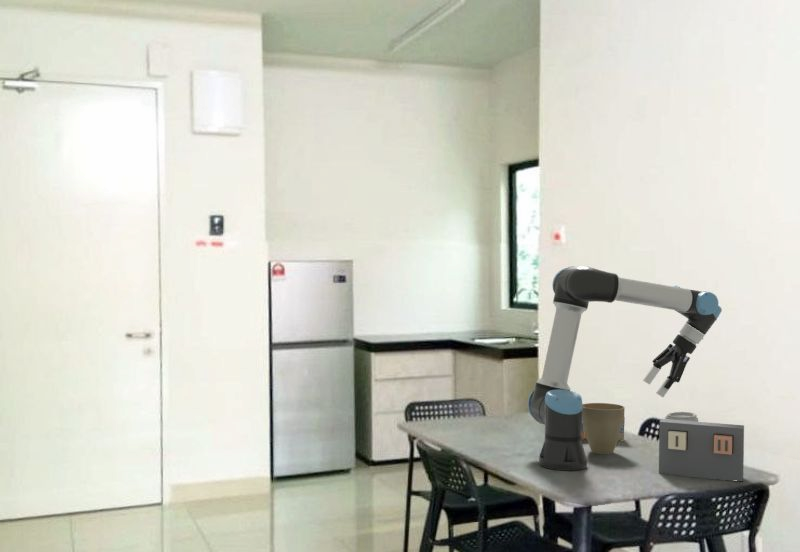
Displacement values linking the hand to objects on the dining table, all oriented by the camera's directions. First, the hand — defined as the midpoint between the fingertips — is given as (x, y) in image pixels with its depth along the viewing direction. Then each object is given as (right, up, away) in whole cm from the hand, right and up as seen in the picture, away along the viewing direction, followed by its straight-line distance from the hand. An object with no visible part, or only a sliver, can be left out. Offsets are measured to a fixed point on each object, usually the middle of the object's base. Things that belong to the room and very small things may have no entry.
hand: (652, 388), depth 291 cm
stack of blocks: (-16, -22, +19) cm, 33 cm away
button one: (-5, -13, -39) cm, 42 cm away
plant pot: (-19, -21, -5) cm, 29 cm away
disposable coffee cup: (+6, -22, -13) cm, 26 cm away
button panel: (+3, -21, -38) cm, 44 cm away
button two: (+7, -13, -45) cm, 47 cm away
